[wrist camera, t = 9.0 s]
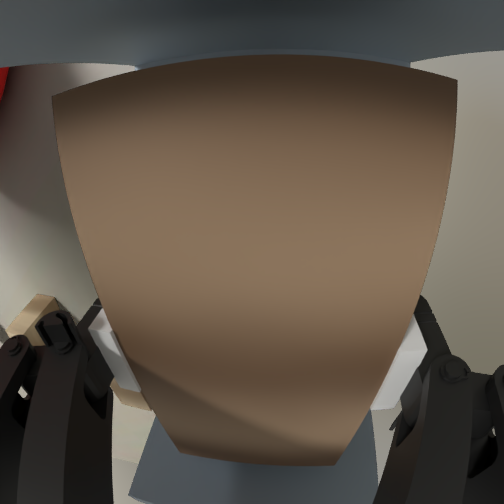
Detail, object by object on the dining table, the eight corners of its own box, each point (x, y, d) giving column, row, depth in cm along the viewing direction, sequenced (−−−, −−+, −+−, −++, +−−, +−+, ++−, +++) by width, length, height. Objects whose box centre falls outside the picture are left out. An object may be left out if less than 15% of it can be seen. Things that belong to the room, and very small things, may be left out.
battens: (37, 294, 21) (5, 330, 16) (156, 312, 19) (127, 368, 15) (58, 335, 23) (32, 371, 19) (171, 359, 22) (151, 411, 17)
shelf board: (332, 412, 13) (334, 465, 10) (194, 403, 14) (180, 452, 11) (397, 82, 6) (457, 79, 3) (126, 88, 7) (51, 96, 4)
